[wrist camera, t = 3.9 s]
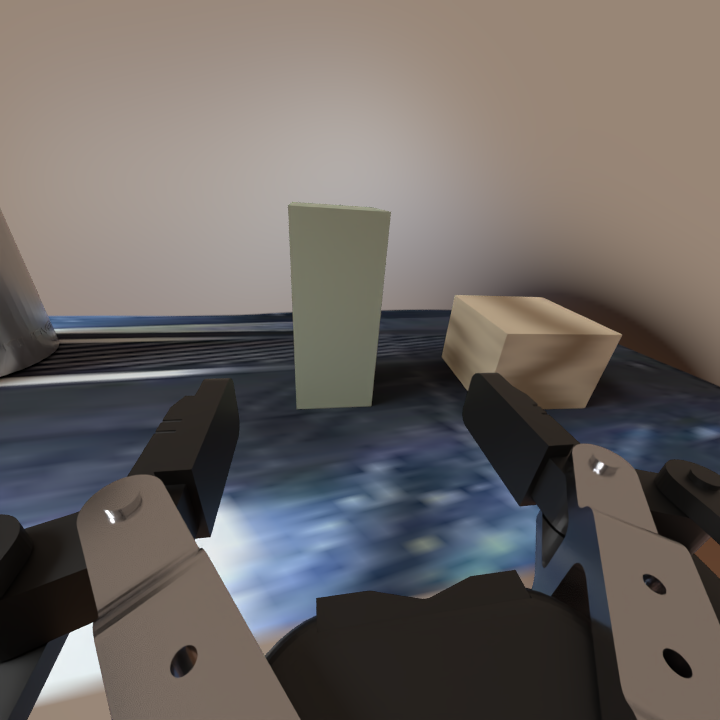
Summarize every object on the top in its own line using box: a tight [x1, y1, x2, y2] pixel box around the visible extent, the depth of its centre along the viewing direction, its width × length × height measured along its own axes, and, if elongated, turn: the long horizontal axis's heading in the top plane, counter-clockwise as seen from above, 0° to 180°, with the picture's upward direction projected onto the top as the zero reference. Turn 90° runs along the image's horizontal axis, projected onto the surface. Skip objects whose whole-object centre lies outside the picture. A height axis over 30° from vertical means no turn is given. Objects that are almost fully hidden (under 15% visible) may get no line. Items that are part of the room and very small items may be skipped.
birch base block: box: [442, 295, 622, 409], centre depth 24 cm, size 8×8×6 cm
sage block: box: [288, 202, 391, 409], centre depth 20 cm, size 5×5×12 cm
